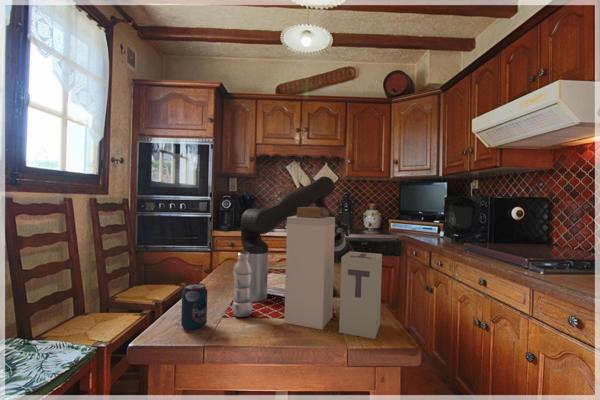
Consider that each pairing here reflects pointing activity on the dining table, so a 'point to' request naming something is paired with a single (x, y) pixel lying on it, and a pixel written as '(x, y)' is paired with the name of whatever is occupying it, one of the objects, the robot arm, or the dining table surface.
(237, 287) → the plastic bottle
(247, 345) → the dining table surface
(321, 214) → the walnut paddle
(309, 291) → the cream stand
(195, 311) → the soda can
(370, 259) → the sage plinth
